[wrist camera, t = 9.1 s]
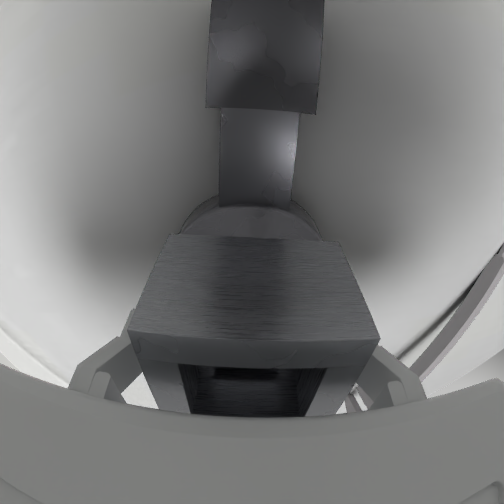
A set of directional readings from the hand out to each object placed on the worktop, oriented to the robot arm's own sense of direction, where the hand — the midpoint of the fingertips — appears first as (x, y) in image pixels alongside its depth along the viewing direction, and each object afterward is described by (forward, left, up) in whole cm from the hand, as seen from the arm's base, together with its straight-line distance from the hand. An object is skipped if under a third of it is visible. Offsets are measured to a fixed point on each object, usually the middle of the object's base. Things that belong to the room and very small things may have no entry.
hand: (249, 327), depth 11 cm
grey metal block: (0, 0, -2) cm, 2 cm away
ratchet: (-4, 0, -5) cm, 7 cm away
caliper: (+7, +15, -6) cm, 17 cm away
